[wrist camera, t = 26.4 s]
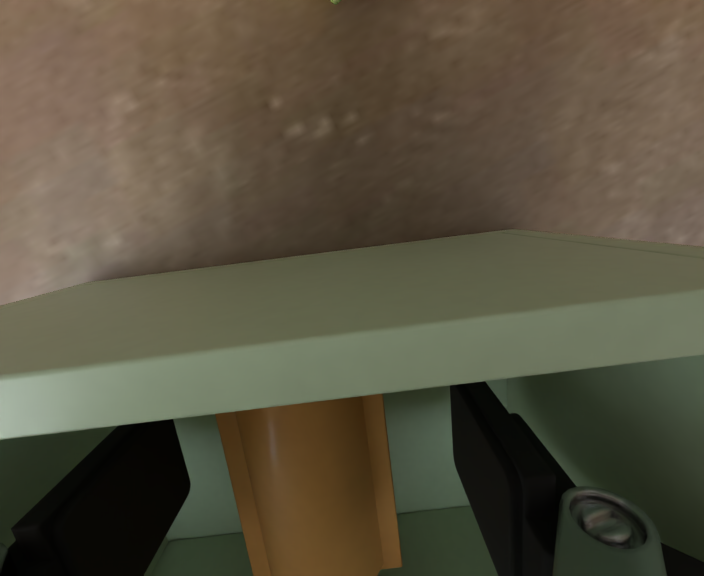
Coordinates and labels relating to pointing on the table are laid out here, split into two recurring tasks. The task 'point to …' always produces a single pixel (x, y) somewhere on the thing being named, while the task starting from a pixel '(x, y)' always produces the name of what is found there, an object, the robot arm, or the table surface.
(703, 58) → the table surface
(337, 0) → the vegetable
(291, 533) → the bread
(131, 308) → the pale green open box
